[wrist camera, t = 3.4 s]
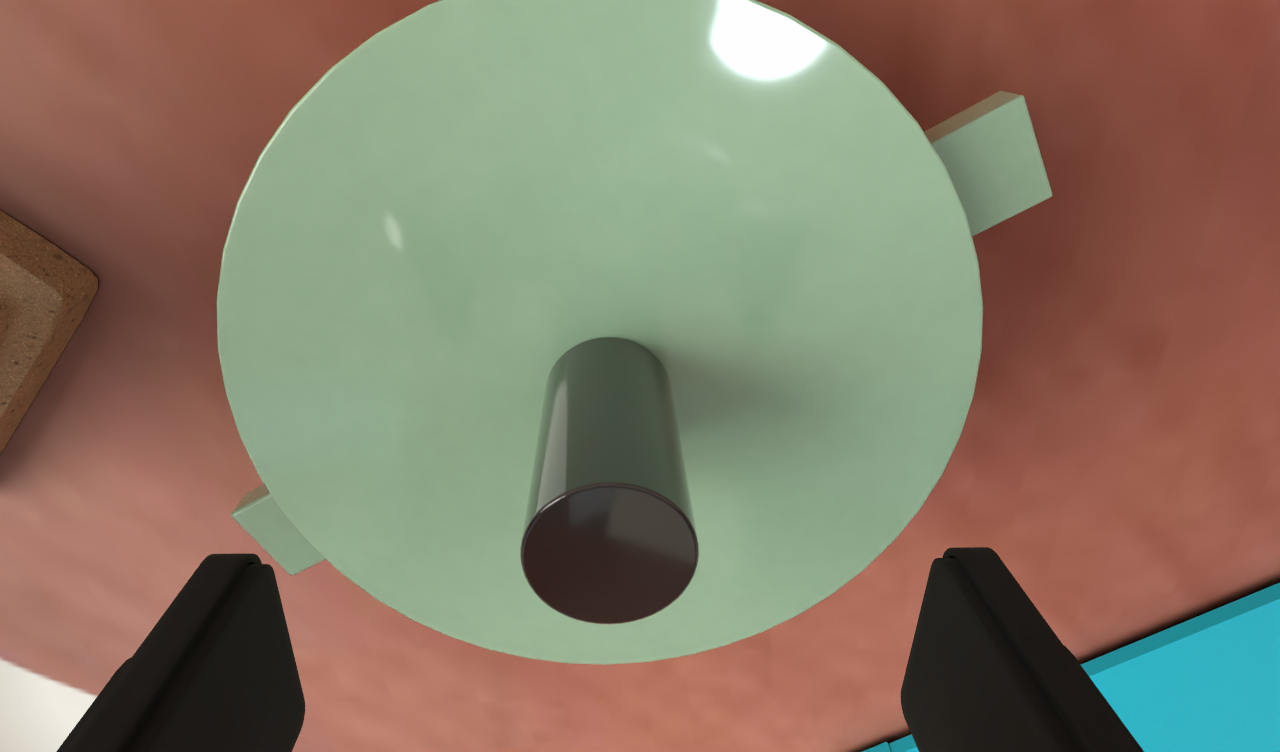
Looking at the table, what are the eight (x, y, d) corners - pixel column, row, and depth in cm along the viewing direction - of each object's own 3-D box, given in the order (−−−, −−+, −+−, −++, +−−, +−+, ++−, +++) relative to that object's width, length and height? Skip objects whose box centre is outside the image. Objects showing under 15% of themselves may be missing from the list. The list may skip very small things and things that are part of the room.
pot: (191, 215, 23) (-7, 316, 16) (808, -173, 20) (936, -284, 12) (475, 554, 30) (430, 743, 22) (982, 310, 26) (1137, 437, 18)
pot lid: (70, 238, 16) (-256, 383, 10) (790, -226, 13) (953, -428, 7) (505, 709, 23) (469, 964, 17) (1042, 476, 20) (1235, 685, 14)
